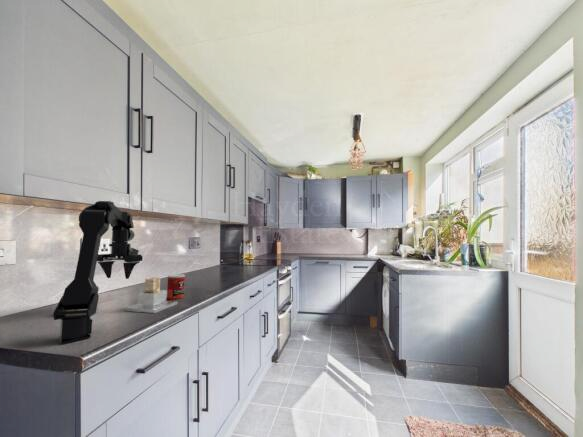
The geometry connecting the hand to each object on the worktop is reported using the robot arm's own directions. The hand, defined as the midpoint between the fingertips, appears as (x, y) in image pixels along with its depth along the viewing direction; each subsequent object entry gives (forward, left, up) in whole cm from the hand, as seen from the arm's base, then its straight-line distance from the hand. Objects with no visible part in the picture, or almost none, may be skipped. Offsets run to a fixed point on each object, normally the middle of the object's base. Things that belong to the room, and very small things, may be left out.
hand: (118, 278), depth 109 cm
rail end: (+10, -11, -9) cm, 17 cm away
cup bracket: (+10, -11, -12) cm, 19 cm away
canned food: (+24, -2, -12) cm, 27 cm away
